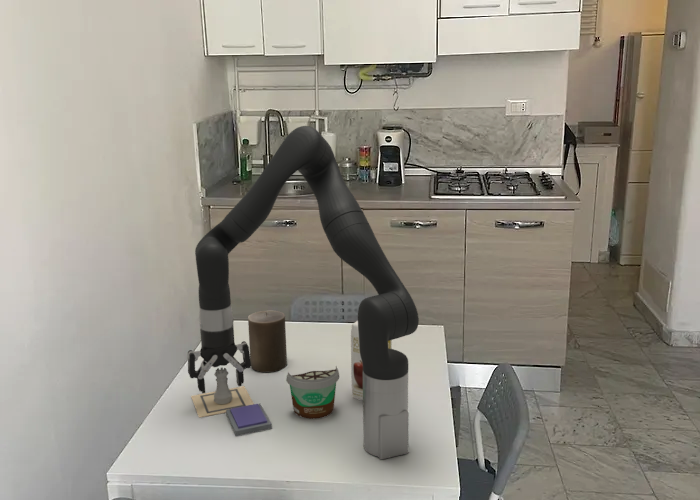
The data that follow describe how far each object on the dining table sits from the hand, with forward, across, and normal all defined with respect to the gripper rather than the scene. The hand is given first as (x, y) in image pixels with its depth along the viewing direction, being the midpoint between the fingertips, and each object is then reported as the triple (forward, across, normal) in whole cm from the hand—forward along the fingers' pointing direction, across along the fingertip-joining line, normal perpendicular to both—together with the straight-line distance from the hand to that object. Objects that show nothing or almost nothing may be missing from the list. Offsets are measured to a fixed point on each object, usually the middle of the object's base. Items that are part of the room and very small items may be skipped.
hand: (221, 388), depth 161 cm
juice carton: (+4, -34, +11) cm, 36 cm away
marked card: (+4, 0, 0) cm, 4 cm away
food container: (+4, -19, +14) cm, 24 cm away
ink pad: (+4, -4, +11) cm, 12 cm away
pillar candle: (+4, -16, -16) cm, 23 cm away
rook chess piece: (+4, 0, 0) cm, 4 cm away
